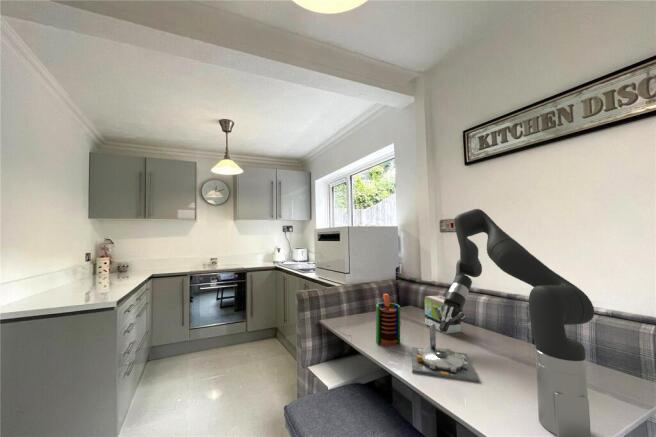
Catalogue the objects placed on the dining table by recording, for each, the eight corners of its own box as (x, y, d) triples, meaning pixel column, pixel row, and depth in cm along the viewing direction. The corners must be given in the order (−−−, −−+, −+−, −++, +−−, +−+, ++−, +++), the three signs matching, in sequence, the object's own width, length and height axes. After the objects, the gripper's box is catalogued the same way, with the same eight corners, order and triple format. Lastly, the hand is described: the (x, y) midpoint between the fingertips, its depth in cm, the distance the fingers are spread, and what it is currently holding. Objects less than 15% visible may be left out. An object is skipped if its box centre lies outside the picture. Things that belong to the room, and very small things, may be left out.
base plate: (479, 382, 85) (479, 378, 85) (412, 372, 90) (412, 369, 90) (466, 356, 104) (466, 352, 104) (411, 349, 109) (411, 346, 109)
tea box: (424, 324, 142) (423, 295, 143) (440, 322, 145) (439, 294, 146) (444, 334, 128) (443, 302, 129) (461, 332, 131) (460, 300, 132)
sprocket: (472, 374, 87) (471, 341, 87) (417, 367, 91) (416, 335, 92) (462, 353, 103) (461, 325, 103) (415, 348, 107) (415, 321, 108)
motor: (381, 347, 111) (381, 297, 113) (372, 339, 120) (372, 293, 121) (403, 345, 114) (402, 296, 116) (392, 337, 123) (392, 292, 124)
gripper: (475, 305, 113) (462, 341, 105) (445, 299, 124) (430, 332, 115) (469, 293, 110) (454, 330, 102) (438, 288, 121) (423, 321, 112)
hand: (442, 331), depth 109 cm, fingers closed
